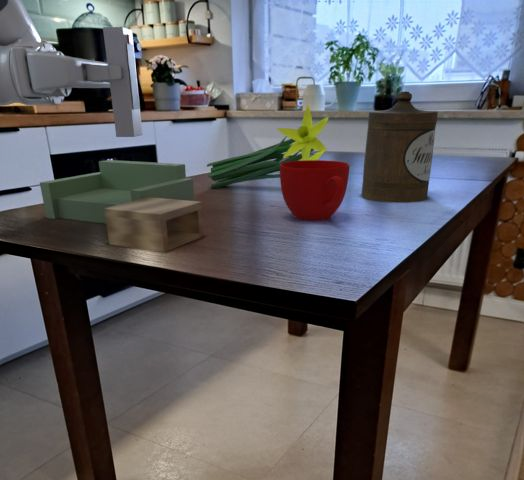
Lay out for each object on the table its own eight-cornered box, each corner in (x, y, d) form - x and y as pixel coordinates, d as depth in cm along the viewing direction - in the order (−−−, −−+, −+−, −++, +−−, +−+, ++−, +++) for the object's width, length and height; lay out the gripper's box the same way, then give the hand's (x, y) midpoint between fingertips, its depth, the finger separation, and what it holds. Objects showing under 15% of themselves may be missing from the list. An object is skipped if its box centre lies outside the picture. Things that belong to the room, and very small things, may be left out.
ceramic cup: (306, 233, 90) (307, 173, 85) (269, 214, 104) (269, 162, 99) (370, 226, 94) (375, 168, 89) (326, 209, 108) (328, 158, 104)
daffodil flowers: (233, 184, 145) (353, 152, 129) (220, 221, 137) (346, 192, 121) (202, 133, 133) (330, 91, 116) (186, 170, 125) (320, 131, 109)
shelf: (109, 246, 84) (103, 208, 81) (152, 231, 92) (148, 196, 90) (164, 253, 79) (160, 214, 76) (203, 237, 88) (201, 201, 85)
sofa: (46, 219, 103) (36, 168, 98) (106, 204, 116) (99, 159, 112) (145, 231, 92) (139, 175, 88) (198, 213, 106) (195, 164, 102)
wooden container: (422, 205, 111) (436, 90, 101) (354, 201, 116) (361, 91, 107) (431, 194, 123) (444, 91, 113) (369, 190, 128) (377, 92, 119)
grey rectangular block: (116, 137, 83) (102, 27, 76) (125, 135, 87) (113, 30, 80) (135, 137, 82) (124, 26, 76) (144, 135, 86) (133, 30, 80)
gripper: (73, 96, 92) (149, 95, 91) (14, 96, 74) (108, 95, 73) (67, 56, 89) (145, 54, 88) (4, 46, 71) (101, 44, 70)
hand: (128, 73), depth 80 cm, fingers closed on grey rectangular block, 4 cm apart
